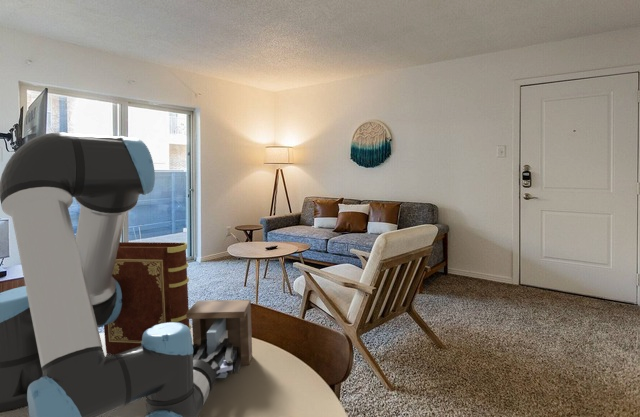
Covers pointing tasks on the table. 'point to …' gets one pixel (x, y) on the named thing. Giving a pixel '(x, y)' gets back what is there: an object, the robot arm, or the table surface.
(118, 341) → the decorative book
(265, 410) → the table surface
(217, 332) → the bookend
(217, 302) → the cubby
